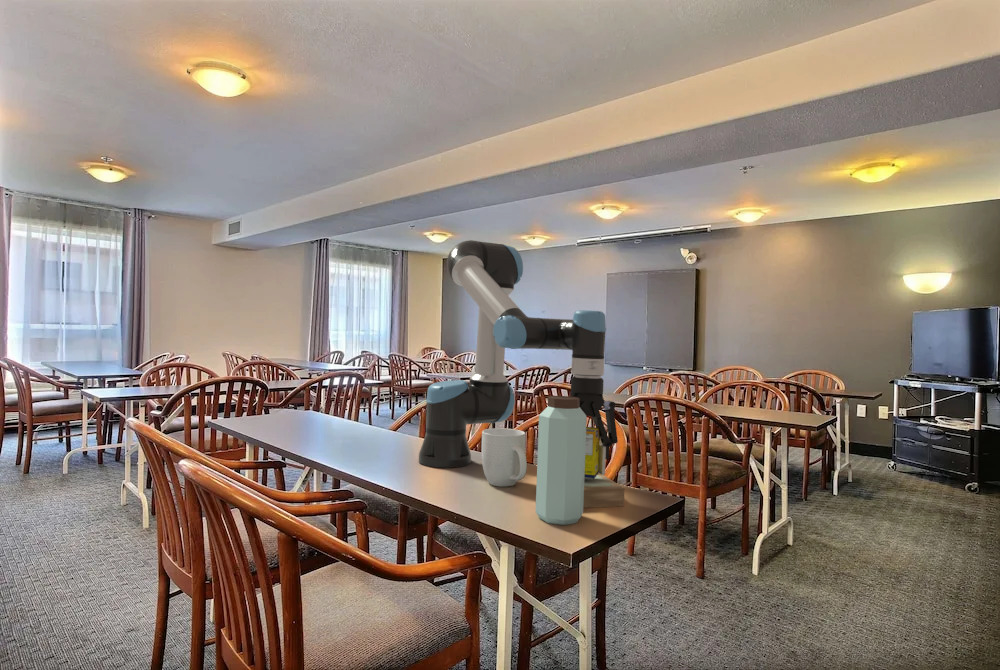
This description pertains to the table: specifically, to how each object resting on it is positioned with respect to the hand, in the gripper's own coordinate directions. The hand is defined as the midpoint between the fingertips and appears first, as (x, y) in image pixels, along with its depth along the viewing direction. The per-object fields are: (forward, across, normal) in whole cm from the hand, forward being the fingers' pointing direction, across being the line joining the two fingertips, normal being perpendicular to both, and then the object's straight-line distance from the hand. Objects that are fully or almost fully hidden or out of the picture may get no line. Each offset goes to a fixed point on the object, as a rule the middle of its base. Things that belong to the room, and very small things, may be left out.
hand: (583, 473), depth 130 cm
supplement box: (0, 0, 0) cm, 0 cm away
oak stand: (+6, 0, 0) cm, 6 cm away
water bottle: (+6, -10, -13) cm, 18 cm away
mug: (+6, -16, +13) cm, 21 cm away
